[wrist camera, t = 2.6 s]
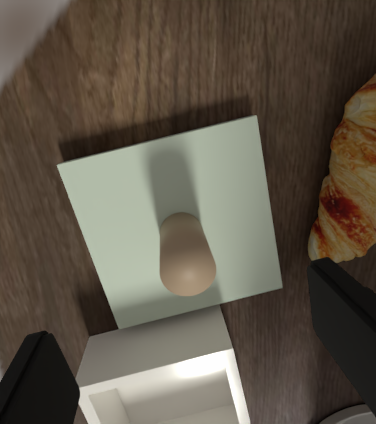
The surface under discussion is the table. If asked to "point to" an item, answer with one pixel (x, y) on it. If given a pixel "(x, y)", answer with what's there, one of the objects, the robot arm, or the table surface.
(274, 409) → the table surface
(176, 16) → the table surface
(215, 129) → the lid
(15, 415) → the robot arm
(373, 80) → the croissant
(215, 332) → the dish
